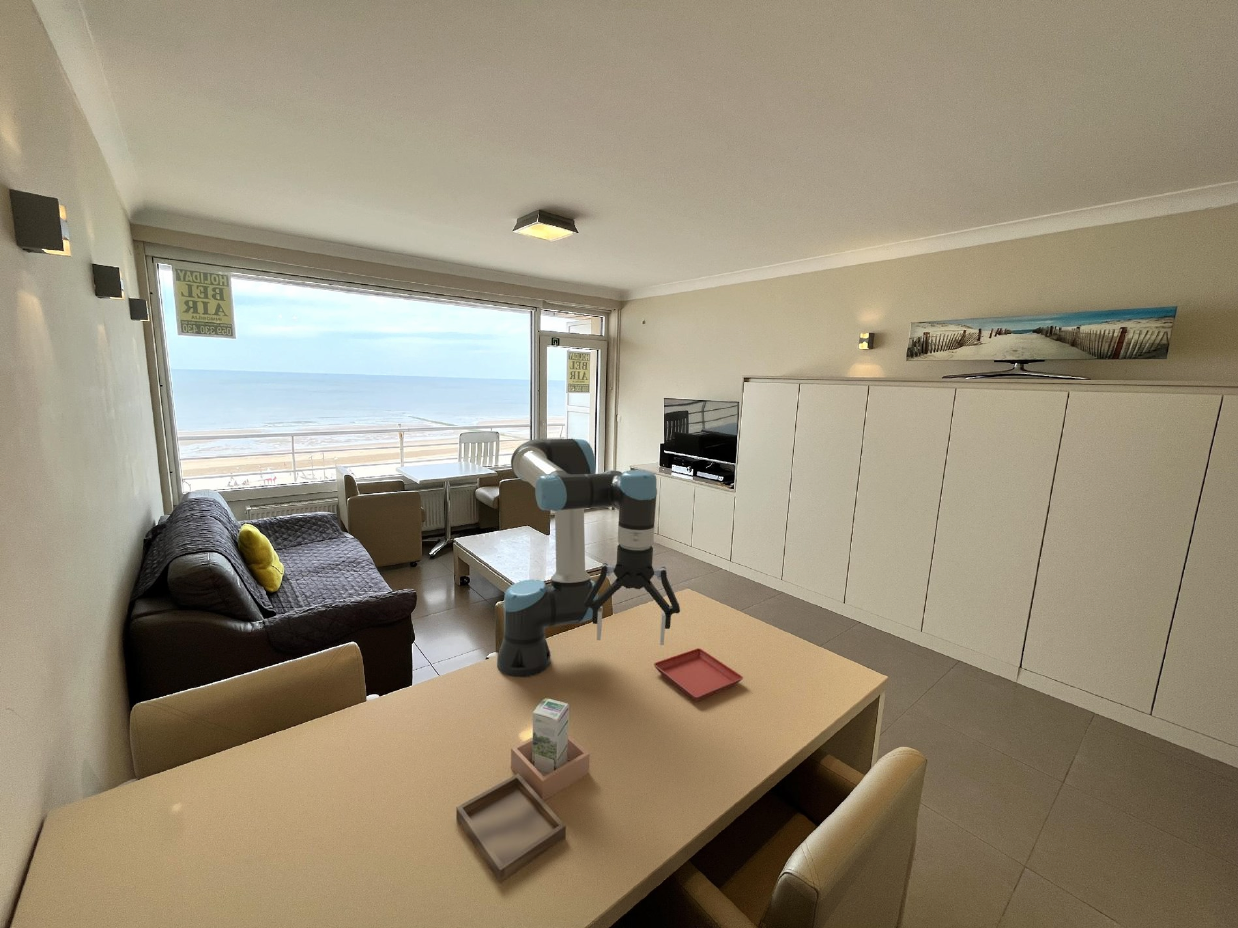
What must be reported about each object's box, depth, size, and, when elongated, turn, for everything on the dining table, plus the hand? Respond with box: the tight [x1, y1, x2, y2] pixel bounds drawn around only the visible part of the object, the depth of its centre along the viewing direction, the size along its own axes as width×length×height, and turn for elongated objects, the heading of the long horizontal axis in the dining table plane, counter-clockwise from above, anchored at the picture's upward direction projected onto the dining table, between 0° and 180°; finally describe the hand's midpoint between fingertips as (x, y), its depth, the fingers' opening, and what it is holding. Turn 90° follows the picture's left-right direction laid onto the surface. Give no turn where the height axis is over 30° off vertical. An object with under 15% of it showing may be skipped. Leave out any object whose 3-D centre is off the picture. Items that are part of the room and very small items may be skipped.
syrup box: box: [531, 697, 570, 776], centre depth 105 cm, size 6×6×14 cm
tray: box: [455, 773, 567, 884], centre depth 91 cm, size 16×13×2 cm
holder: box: [510, 734, 591, 802], centre depth 105 cm, size 12×12×4 cm
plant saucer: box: [653, 647, 744, 702], centre depth 141 cm, size 18×18×3 cm
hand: (630, 639), depth 109 cm, fingers open, 13 cm apart
